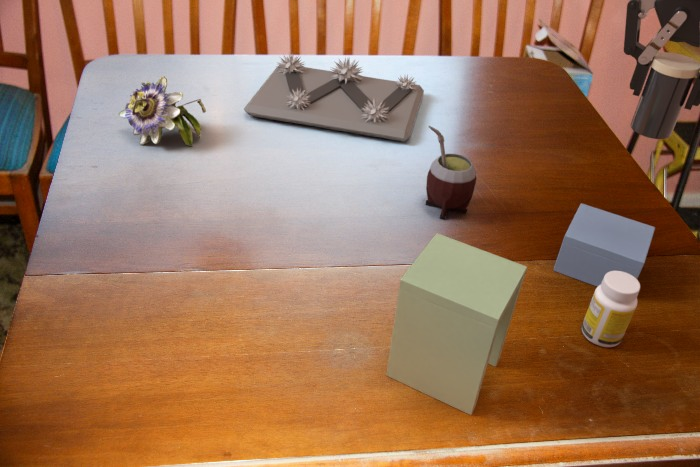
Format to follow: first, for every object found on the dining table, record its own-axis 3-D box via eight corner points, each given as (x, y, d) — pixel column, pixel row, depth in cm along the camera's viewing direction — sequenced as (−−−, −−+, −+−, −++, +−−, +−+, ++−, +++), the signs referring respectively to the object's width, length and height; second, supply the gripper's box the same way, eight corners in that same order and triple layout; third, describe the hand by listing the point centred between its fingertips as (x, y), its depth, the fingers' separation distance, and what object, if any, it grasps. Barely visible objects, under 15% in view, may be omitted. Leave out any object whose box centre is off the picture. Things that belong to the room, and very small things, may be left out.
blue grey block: (640, 261, 91) (655, 227, 87) (628, 298, 84) (644, 263, 81) (569, 237, 94) (580, 202, 91) (552, 270, 88) (564, 235, 84)
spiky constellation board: (242, 119, 116) (240, 81, 112) (278, 72, 133) (278, 38, 129) (408, 146, 112) (413, 108, 108) (423, 95, 129) (428, 60, 125)
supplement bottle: (627, 334, 79) (651, 282, 74) (611, 355, 76) (635, 302, 71) (590, 314, 82) (611, 262, 76) (573, 333, 79) (594, 281, 74)
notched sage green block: (499, 360, 74) (527, 266, 66) (471, 415, 68) (498, 319, 59) (419, 326, 78) (436, 232, 69) (385, 375, 71) (400, 279, 63)
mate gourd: (472, 201, 100) (492, 112, 91) (464, 229, 94) (483, 137, 85) (425, 190, 102) (439, 102, 93) (413, 217, 96) (428, 126, 87)
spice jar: (675, 127, 78) (703, 59, 73) (670, 144, 74) (699, 73, 69) (632, 116, 79) (656, 48, 74) (625, 132, 76) (650, 62, 71)
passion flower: (149, 171, 111) (100, 114, 105) (185, 134, 117) (140, 79, 112) (189, 156, 103) (137, 94, 98) (224, 117, 110) (178, 57, 105)
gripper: (642, -65, 64) (591, 95, 74) (805, -37, 59) (727, 131, 69) (653, -78, 69) (605, 73, 80) (804, -53, 64) (732, 105, 75)
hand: (662, 99), depth 74 cm, fingers closed on spice jar, 5 cm apart
